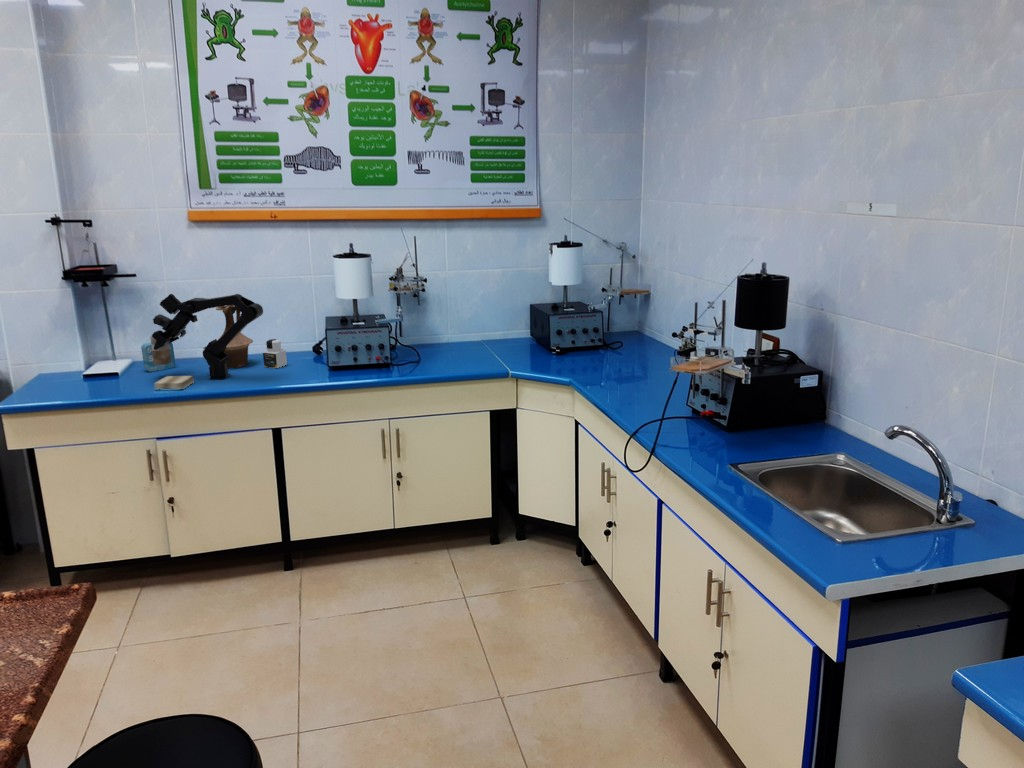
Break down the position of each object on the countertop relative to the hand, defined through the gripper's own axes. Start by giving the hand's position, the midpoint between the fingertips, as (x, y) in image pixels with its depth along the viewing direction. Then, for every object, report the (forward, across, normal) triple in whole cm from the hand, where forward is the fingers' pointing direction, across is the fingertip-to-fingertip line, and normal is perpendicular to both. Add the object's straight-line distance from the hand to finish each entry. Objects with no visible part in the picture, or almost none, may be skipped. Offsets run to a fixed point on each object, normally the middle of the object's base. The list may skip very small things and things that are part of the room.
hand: (157, 347), depth 322 cm
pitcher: (-8, -21, +26) cm, 34 cm away
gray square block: (+4, 0, +6) cm, 7 cm away
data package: (+14, -13, +4) cm, 19 cm away
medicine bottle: (-21, -18, +39) cm, 48 cm away
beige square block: (0, +15, +18) cm, 23 cm away
